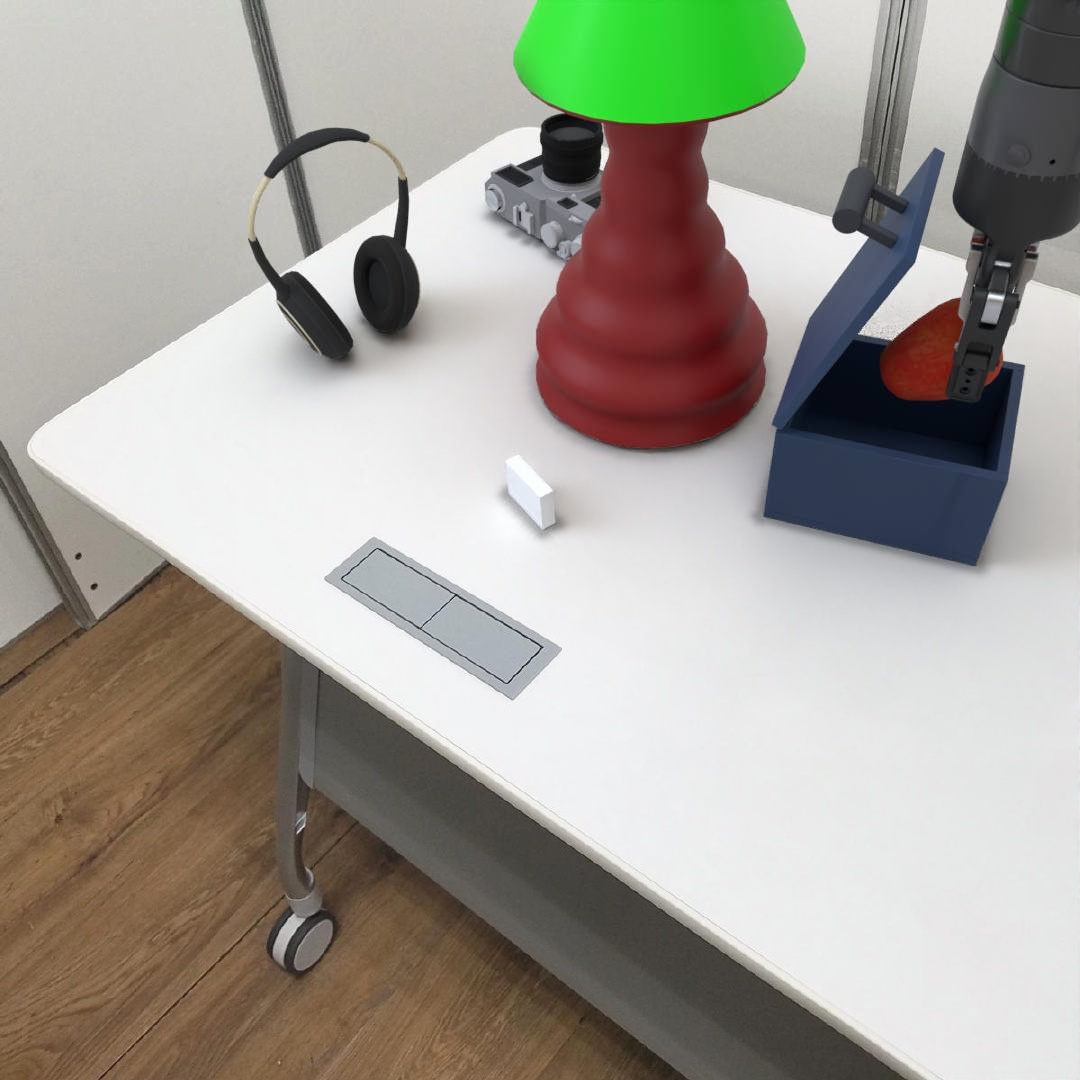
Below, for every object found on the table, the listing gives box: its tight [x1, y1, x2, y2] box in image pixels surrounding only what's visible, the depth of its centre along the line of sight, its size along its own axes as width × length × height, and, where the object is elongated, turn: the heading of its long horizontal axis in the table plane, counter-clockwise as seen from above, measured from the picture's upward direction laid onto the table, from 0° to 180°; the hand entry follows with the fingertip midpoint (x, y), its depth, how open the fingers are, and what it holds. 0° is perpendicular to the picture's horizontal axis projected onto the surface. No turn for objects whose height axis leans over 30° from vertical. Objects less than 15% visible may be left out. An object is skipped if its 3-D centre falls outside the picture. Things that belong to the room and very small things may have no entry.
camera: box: [484, 112, 605, 261], centre depth 107 cm, size 18×10×10 cm
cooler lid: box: [771, 147, 946, 430], centre depth 74 cm, size 16×13×5 cm
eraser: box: [504, 454, 556, 531], centre depth 84 cm, size 1×5×4 cm, turn 34°
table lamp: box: [512, 0, 807, 450], centre depth 78 cm, size 20×20×45 cm
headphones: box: [247, 127, 421, 359], centre depth 93 cm, size 9×15×20 cm, turn 125°
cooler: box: [763, 333, 1026, 567], centre depth 82 cm, size 16×13×9 cm
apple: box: [880, 296, 1004, 401], centre depth 75 cm, size 6×6×8 cm
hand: (968, 364), depth 75 cm, fingers closed on apple, 6 cm apart
